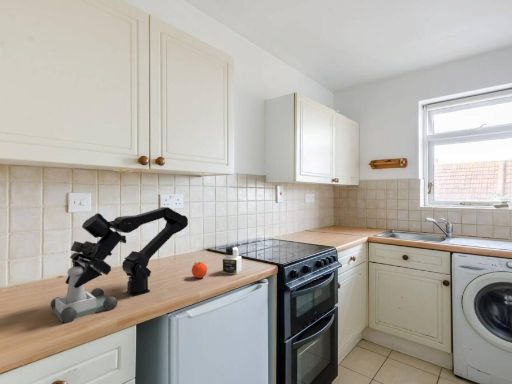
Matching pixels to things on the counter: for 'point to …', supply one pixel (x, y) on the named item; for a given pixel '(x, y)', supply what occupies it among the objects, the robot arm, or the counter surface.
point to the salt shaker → (73, 292)
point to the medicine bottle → (232, 261)
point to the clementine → (199, 270)
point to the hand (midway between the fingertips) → (70, 285)
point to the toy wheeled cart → (82, 305)
